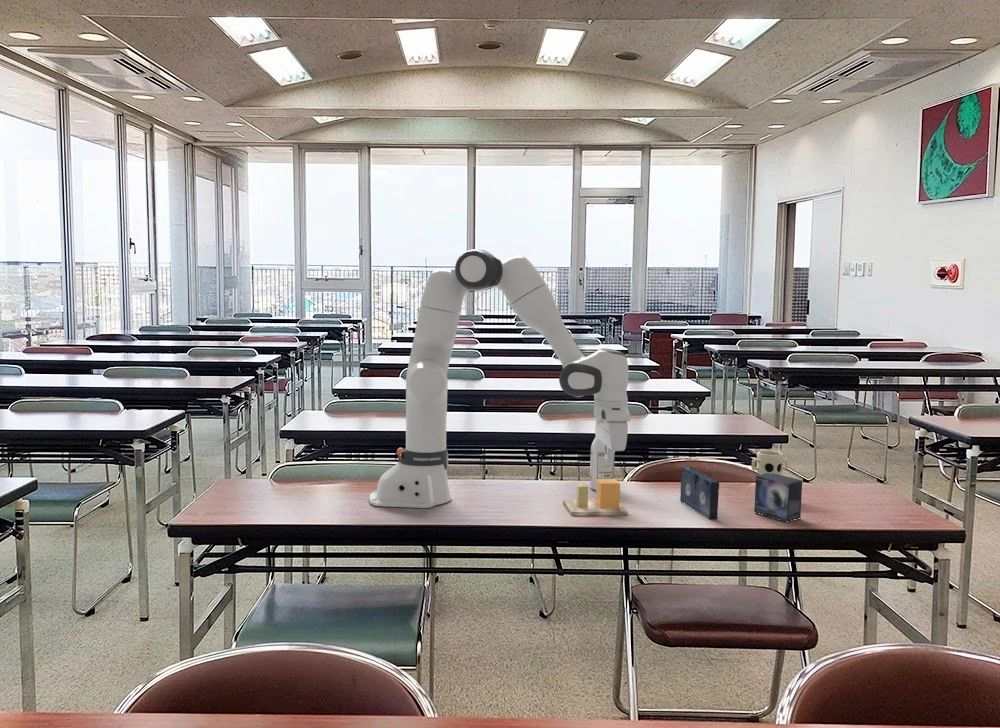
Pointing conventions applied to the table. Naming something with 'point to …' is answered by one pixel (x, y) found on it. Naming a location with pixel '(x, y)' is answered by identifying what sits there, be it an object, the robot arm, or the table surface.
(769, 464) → the character mug
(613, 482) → the tall orange prism
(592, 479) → the bath foam
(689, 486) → the vhs cassette tape
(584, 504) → the brass post
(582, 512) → the birch board
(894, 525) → the table surface
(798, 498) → the small box
